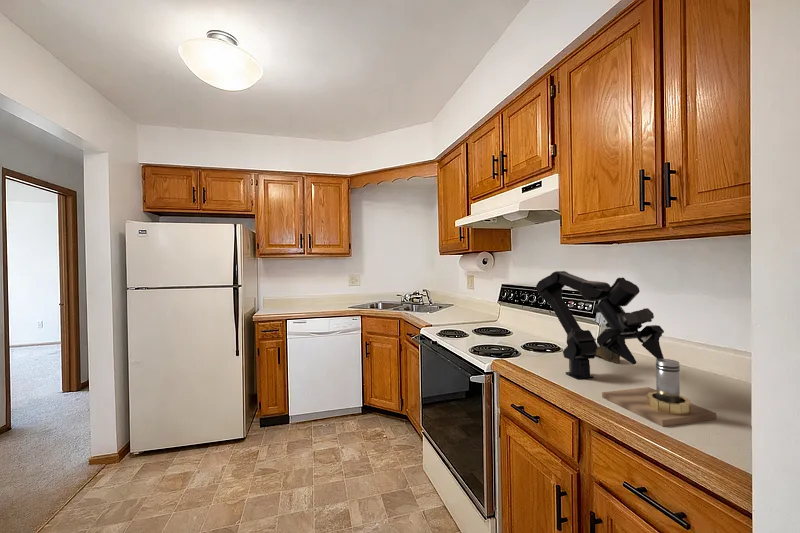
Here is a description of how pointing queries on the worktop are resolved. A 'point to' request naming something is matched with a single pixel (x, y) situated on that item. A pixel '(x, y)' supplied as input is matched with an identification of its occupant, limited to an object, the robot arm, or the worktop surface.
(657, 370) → the piston
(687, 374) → the worktop surface
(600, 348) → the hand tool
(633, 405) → the walnut board
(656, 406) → the brass ring collar
